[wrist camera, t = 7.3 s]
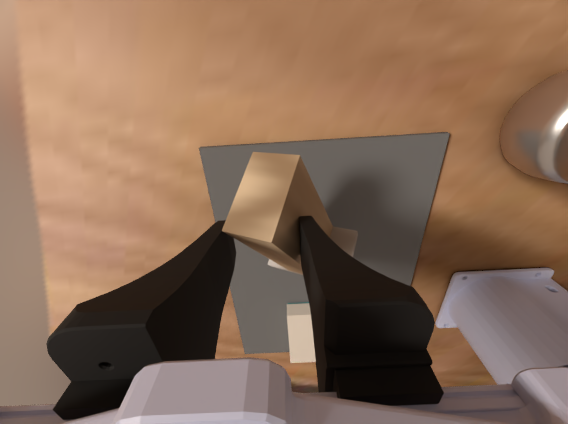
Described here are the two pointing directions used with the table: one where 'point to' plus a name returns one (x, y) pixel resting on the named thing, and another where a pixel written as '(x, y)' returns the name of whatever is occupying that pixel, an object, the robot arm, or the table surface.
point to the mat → (331, 216)
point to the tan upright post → (279, 210)
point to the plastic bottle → (539, 130)
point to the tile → (300, 333)
